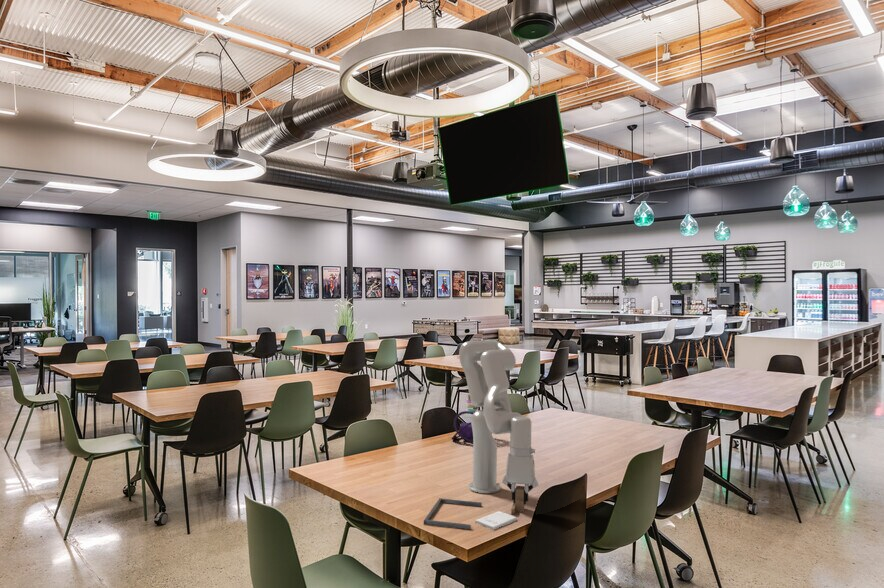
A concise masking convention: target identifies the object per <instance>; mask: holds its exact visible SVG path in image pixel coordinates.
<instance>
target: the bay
mask: <svg viewBox="0 0 884 588" xmlns="http://www.w3.org/2000/svg"><path fill="white" fill-rule="evenodd" d="M441 502H442V503H441ZM449 503H453V504H452V505H459V504H462V505H461V506H468V505H469V506H471V507H480V508H481V507H482V505H483V504H482V502H481V501H480V502H478V501H469V500H460V499H452V498H451V499H449V498H438V500H437V501H436V502H435V504H434V505H433V506H432V508H431V510H430V511H429V513H428V514H427V515H426V517H425V518H424V520H423V525H426V524H428V525H427V526H429V525H430V526H435V525H437V526H436V527H443V526H447V527H446V528H452V527H456V528H455V529H460V528H467V529H466V530H469V529H472V524H467V523H459V522H450V521H440V520H433V519H431V518H432V517H433V515H434V514H435V513H436V512H437V510H438V508H439V507H440V506H441V504H449ZM439 505H440V506H439Z"/></svg>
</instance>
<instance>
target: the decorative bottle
mask: <svg viewBox="0 0 884 588" xmlns="http://www.w3.org/2000/svg"><path fill="white" fill-rule="evenodd" d="M467 398H468V400H466V401H465V402H466V403H467V404H466V409H465V410H466V411H465V410H464V411H460V412H459V413H457V414H456V415H455V417H454V419H453V428H454V430H455V432H456V433H455V434H453V436H452V437H451V440H452V441H453V439H454V440H456V439H458V438H461V439H462V440H463V441H464V440H466V441H465V442H467V441H468V443H472V444H473V430H472V424H471V421H469V422H461V423H460V426H459V429H458V428H457V420H458V418H459V417H460V416H462V415H464V414H471V415H473V414H474V413H475V412H476V411H477V410H476V409H473V408H477V407H476V406H474V405H473V404H472V402H471V399H470V395H469V394H467ZM462 419H464V418H462ZM455 438H456V439H455Z"/></svg>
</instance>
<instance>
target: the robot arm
mask: <svg viewBox="0 0 884 588" xmlns="http://www.w3.org/2000/svg"><path fill="white" fill-rule="evenodd" d="M458 352H459V354H458V355H459V356H458V357H459V363H460V365H461V368H462V370H463V373H464V376H465V378H466V384H467V389H468V395H470V399H471V402H472V403H471V404H472V405H474V406H476V407H475V408H482V409H480V410H476V411H475V412H473V413H474V414H471V417H470V418H471V419H470V422H471V424H472V430H473V443H472V444H473V449H472V451H473V452H472V455H473V456H472V482H470V483H469V484H468V489H469V490H470V491H472V492H474V493H477V492H478V494H495V493H497V492H498V493H499V491H500V490H501V485H500V484H499V483H498V482H497V466H498V463H497V462H498V457H497V456H498V455H497V454H498V444H497V441H496V440H495V438H494V436H493V435H505V434H510V435H509V436H510V440H509V443H510V444H509V453H507V454H508V455H507V460H506V469H505V475H504V477H503V478H502V481H501V483H502V484H503V485H505V486H506V487H508V488H509V490H510V491H511V500H512V501H513V502H514V503H515V489H516V486H517V485H524V486H525V491H524V504H525V505H526V504H527V502H529V492H530V491H532V489H535V488H537V487H539V481H538V480H537V477H536V469H535V466H536V465H535V458H534V455H533V454H536V449H535V448H532V420H531V418H529V416H523V414H521V413H519V412H516V411H515V412H514V411H512V407H511V402H510V398H509V393H508V391H507V390H508V389H510V382H509V378H508V375H507V372H506V371H512V370H513V369H514V368H515V367H516V360H517V359H516V357H515V355H514V353H513V351H512V350H511V348H508V347H507V346H505V345H504V344H502V343H501V342H500V341H498V340H492V339H491V340H485V339H483V340H481V339H480V340H468V341H465V342H464V343H462V344H461V345H460V348H459V351H458ZM479 361H480V364H479Z"/></svg>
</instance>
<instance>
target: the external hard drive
mask: <svg viewBox="0 0 884 588" xmlns="http://www.w3.org/2000/svg"><path fill="white" fill-rule="evenodd" d="M517 519H518V517H516V516H514V515H511V514H508V513H505V512H503V511H500V510H498V511H496V512H495V511H494V512H492V513H491V514H488V515H485V516H483V517H480V518H478V519H476V520H474V523H475V524H477V523H478V524H477V525H479V524H480V526H482V525H483V527H485V528H487V527H488V528H487V529H489V528H490V529H489V530H491V531H495V530H497V529H499V527H500V528H502V527H504V526H506V525H509V524H511V523H514V522H516V521H517ZM501 526H502V527H501ZM494 529H495V530H494Z"/></svg>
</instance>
